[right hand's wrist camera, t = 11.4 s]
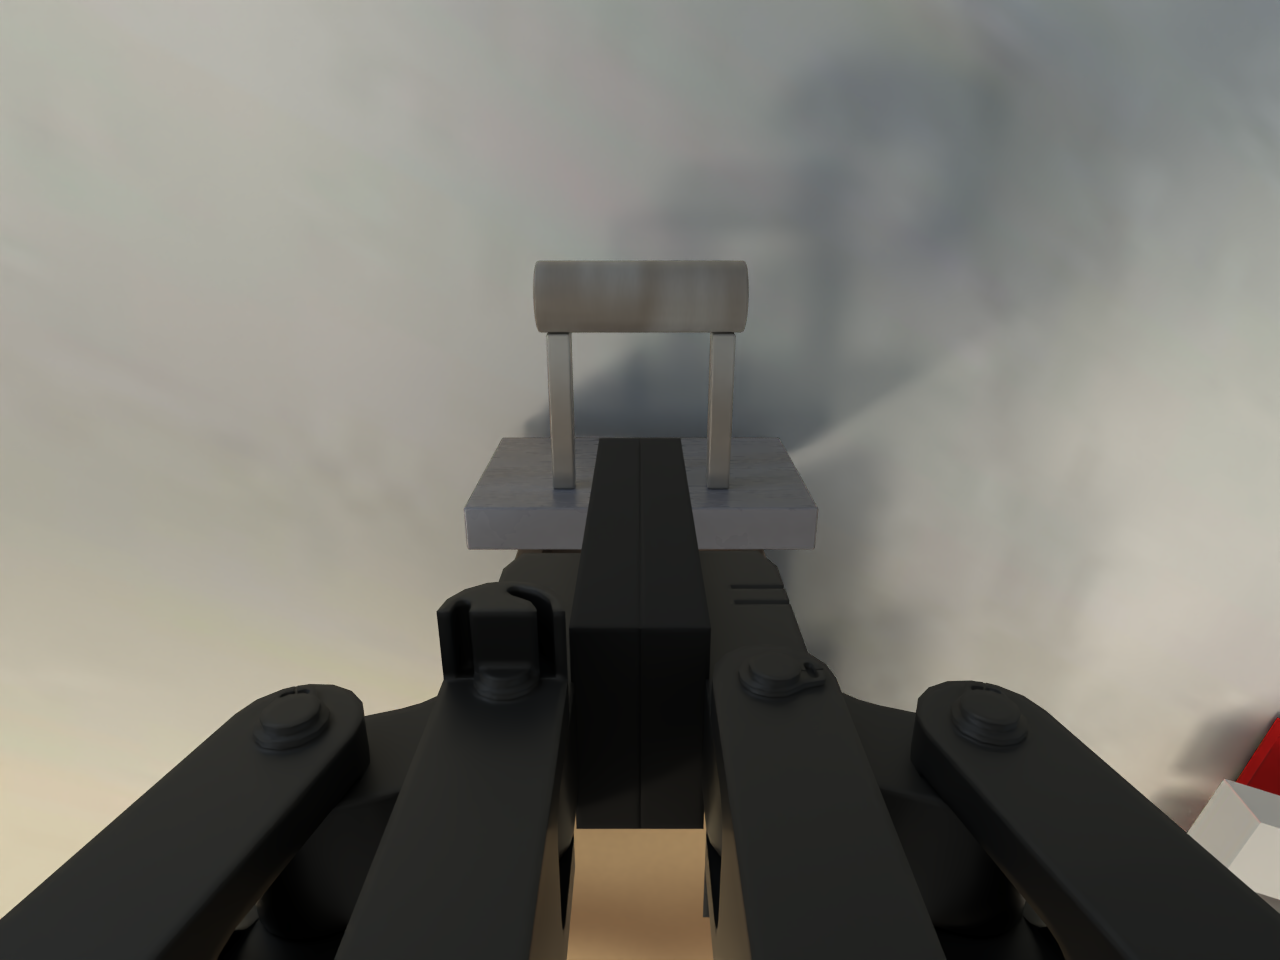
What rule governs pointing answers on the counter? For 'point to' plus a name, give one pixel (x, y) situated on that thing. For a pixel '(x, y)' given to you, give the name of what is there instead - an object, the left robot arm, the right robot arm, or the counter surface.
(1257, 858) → the toy
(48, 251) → the counter surface
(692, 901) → the wooden block
